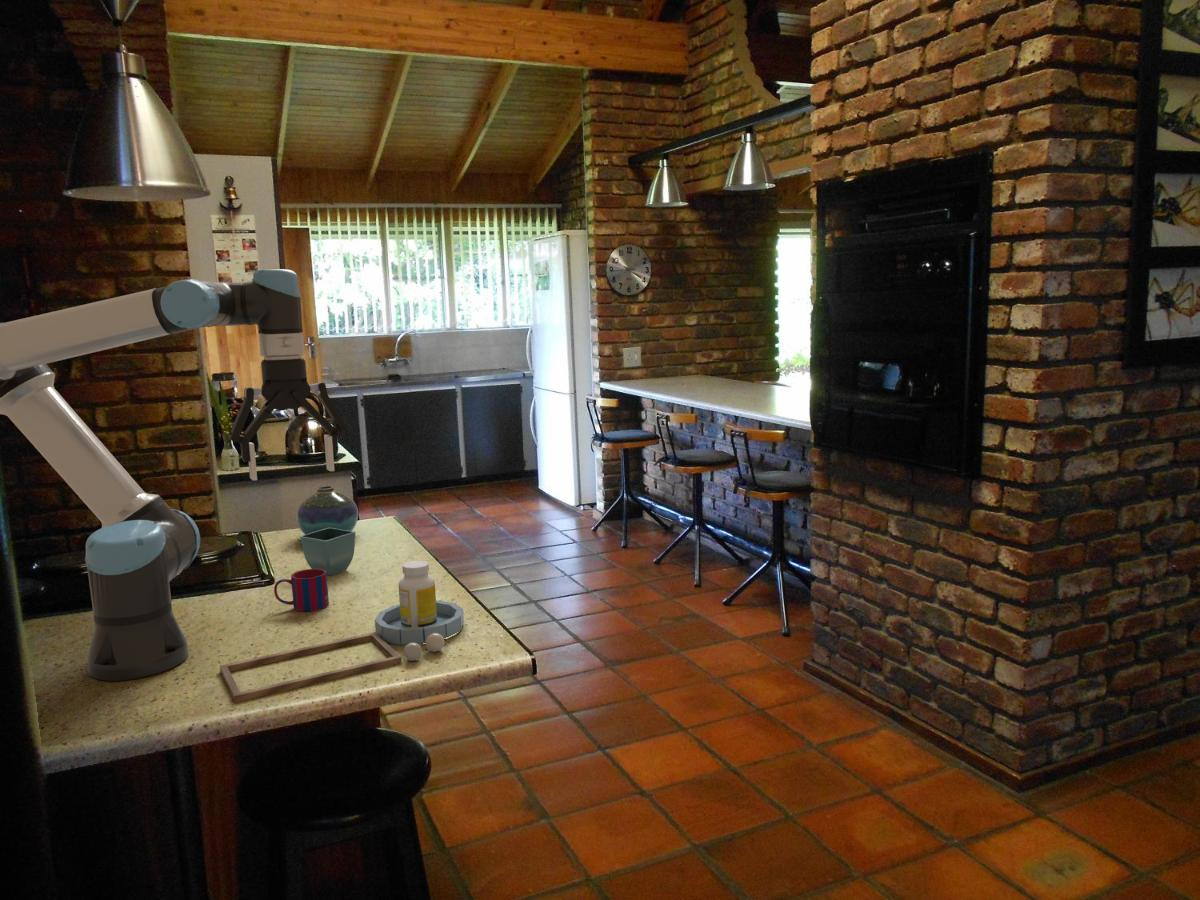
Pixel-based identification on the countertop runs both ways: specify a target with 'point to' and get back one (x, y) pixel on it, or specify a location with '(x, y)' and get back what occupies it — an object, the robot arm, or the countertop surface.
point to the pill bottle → (417, 595)
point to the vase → (327, 511)
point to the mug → (307, 590)
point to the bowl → (394, 633)
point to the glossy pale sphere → (412, 651)
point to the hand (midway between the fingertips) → (293, 474)
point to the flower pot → (329, 549)
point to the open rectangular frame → (308, 680)
